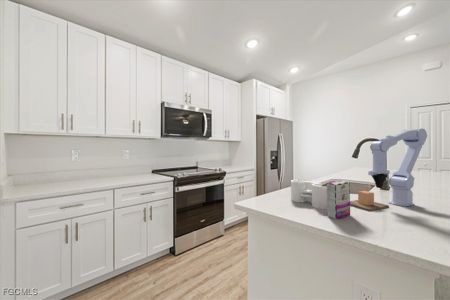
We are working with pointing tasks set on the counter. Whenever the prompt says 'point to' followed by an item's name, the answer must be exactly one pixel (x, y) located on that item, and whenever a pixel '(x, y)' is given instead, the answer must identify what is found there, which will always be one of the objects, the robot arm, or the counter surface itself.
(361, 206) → the post board
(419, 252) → the counter surface
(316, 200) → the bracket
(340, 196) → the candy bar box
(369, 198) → the tan rectangular block
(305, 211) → the counter surface
